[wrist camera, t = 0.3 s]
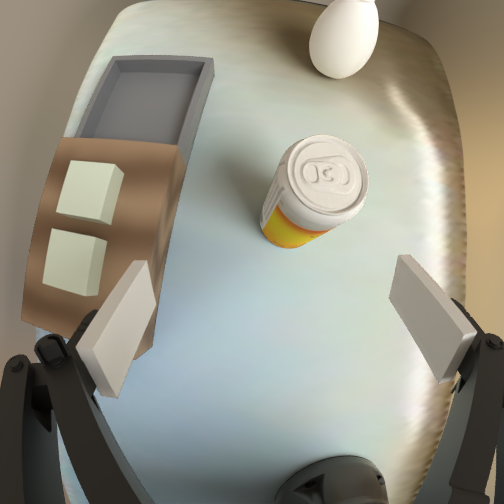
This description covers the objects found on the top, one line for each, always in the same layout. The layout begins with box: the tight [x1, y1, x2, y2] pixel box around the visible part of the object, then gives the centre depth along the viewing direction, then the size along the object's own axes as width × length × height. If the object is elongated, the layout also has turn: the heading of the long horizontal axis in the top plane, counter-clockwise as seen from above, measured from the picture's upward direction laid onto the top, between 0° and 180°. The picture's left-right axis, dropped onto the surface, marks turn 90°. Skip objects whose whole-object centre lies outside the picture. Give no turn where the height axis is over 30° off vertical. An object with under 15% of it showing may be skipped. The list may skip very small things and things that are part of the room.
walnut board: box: [21, 137, 187, 360], centre depth 27 cm, size 20×14×6 cm
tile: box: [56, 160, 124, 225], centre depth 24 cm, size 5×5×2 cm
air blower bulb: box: [309, 0, 379, 79], centre depth 26 cm, size 8×8×18 cm
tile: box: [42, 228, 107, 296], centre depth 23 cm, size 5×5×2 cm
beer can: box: [260, 135, 369, 248], centre depth 24 cm, size 6×6×15 cm
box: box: [74, 55, 214, 168], centre depth 31 cm, size 14×14×4 cm
